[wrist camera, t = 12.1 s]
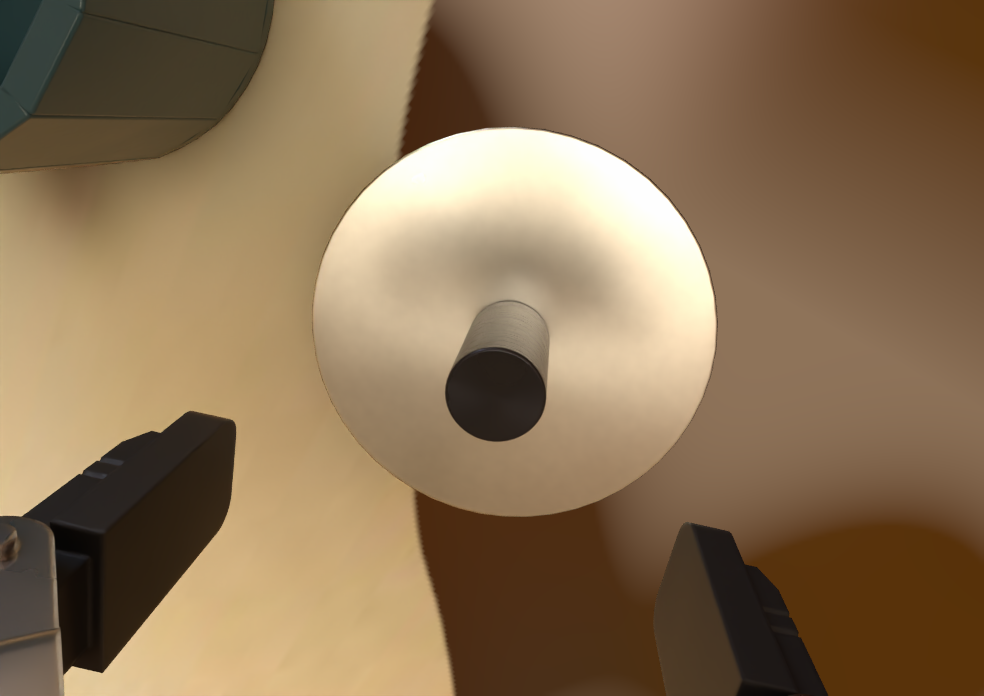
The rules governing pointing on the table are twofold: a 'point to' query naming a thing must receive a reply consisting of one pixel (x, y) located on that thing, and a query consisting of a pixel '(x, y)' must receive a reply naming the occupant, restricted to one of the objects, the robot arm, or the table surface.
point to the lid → (514, 321)
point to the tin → (120, 76)
